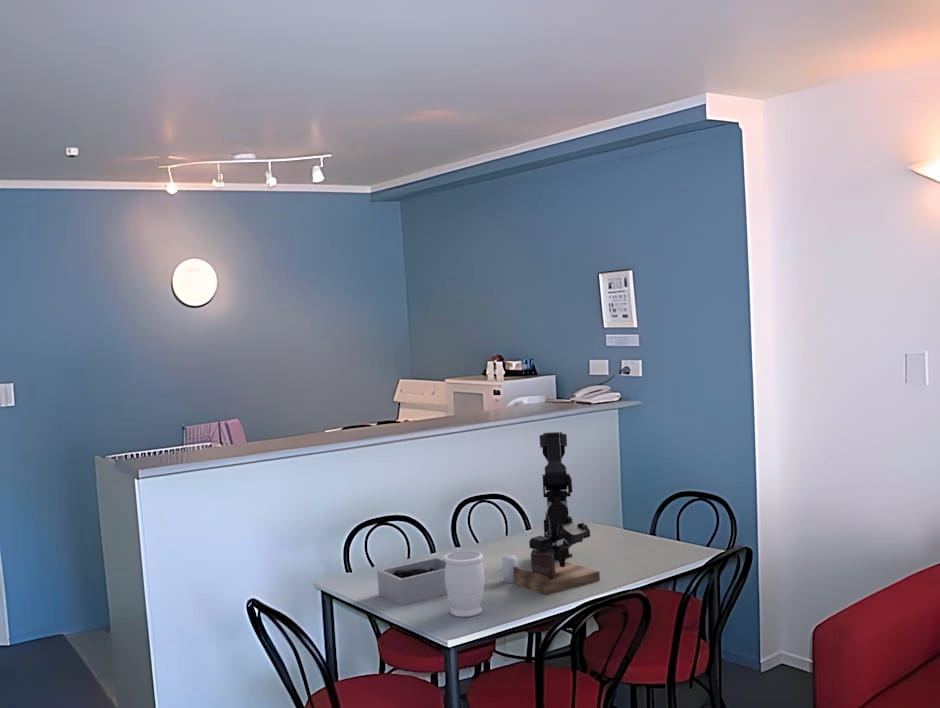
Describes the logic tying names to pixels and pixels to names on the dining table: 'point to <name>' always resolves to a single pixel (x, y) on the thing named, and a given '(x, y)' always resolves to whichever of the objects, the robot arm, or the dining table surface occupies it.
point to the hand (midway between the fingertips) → (562, 566)
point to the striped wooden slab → (555, 578)
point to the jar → (464, 582)
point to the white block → (509, 568)
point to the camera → (411, 572)
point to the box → (543, 562)
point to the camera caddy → (413, 582)
